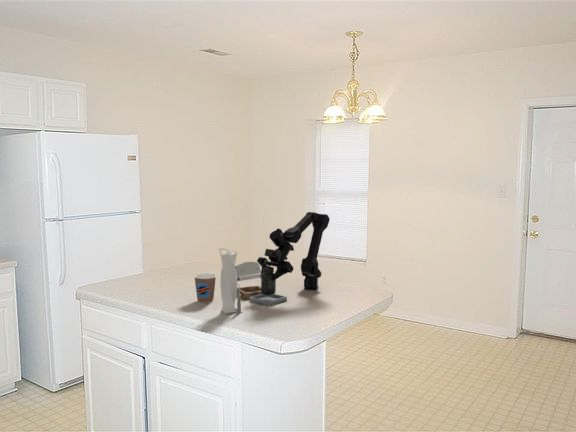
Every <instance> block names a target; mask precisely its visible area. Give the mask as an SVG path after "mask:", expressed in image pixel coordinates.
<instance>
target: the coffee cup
mask: <svg viewBox="0 0 576 432" xmlns="http://www.w3.org/2000/svg"><path fill="white" fill-rule="evenodd" d="M193 278H194V283H195V292H196V299H197V302H198V303H200V302H201V304H209V303H213V301H214V298H215V287H216V279H217V274H214V273H198V274H195V275H193Z"/></svg>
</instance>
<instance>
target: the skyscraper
mask: <svg viewBox="0 0 576 432" xmlns="http://www.w3.org/2000/svg"><path fill="white" fill-rule="evenodd" d="M221 250H222V251H225V252H224V253H222V252H221ZM218 251H219V255H220V259H221V264H222V265H221V271H220V277H219V279H220V295H221V296H220V297H221V301H222V307H221V310H220V311H221V312H222V313H223V314H224V315H226V316H228V315H237V314H242V313H243V312H242V303H241V301H242V300H241V299H242V298H241V297H240V296H241V294H240V288H239V287H238V285H239V284H238V279H237V272H236V267H235V266H236V260H237V255H238V252H237V251H235V250H229V249H226V248H223V247H222V248H219V249H218ZM237 288H238V294H237ZM236 299H237V301H236ZM235 304H236V305H235ZM236 306H237V308H236Z"/></svg>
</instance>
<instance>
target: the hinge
mask: <svg viewBox="0 0 576 432" xmlns="http://www.w3.org/2000/svg"><path fill="white" fill-rule="evenodd" d="M235 267H236V272H237V280H238V279H239V281H240V282H242V281H246V280H251V279H260V276H261V270H262V268H261V265H260V264H259V263H258V262H257V261H245V262H241V263H239V264H237V265H235Z"/></svg>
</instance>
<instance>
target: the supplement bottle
mask: <svg viewBox="0 0 576 432" xmlns="http://www.w3.org/2000/svg"><path fill="white" fill-rule="evenodd" d="M263 272H264V273H262V275H261V278H260V287H261V293H262V294H264V295H272V294H276V292H277V291H276V290H277V288H276V287H277V286H276V285H277V283H276V281H277V279H276V280H274V281H272V278H273V276H274V274H275V268H274V266H270V267H264V268H263Z"/></svg>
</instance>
